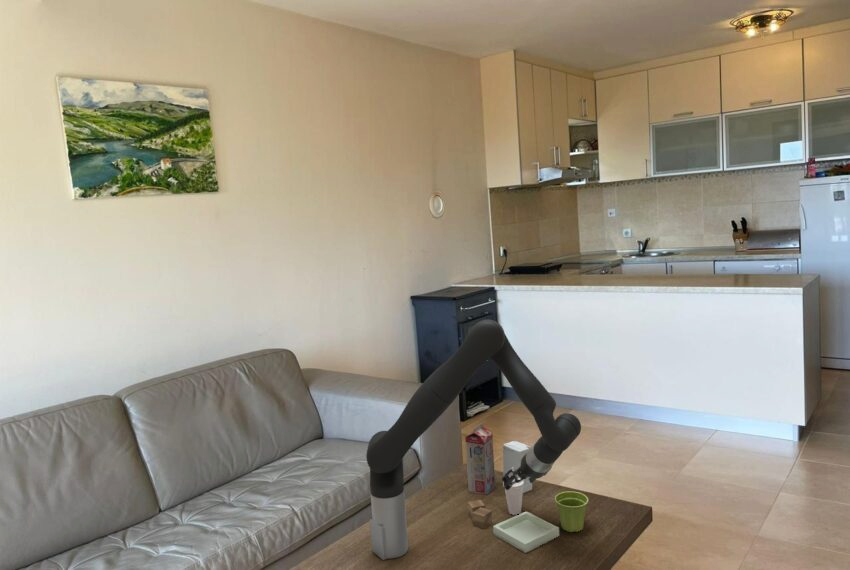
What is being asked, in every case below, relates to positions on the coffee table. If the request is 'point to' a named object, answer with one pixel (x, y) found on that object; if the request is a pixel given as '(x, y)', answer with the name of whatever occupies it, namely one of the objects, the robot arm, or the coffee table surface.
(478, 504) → the walnut block
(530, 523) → the dish
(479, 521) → the walnut block
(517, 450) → the skincare box
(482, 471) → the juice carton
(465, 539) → the coffee table surface
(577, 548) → the coffee table surface
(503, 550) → the coffee table surface
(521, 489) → the smoothie
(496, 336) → the robot arm
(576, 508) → the plant pot
